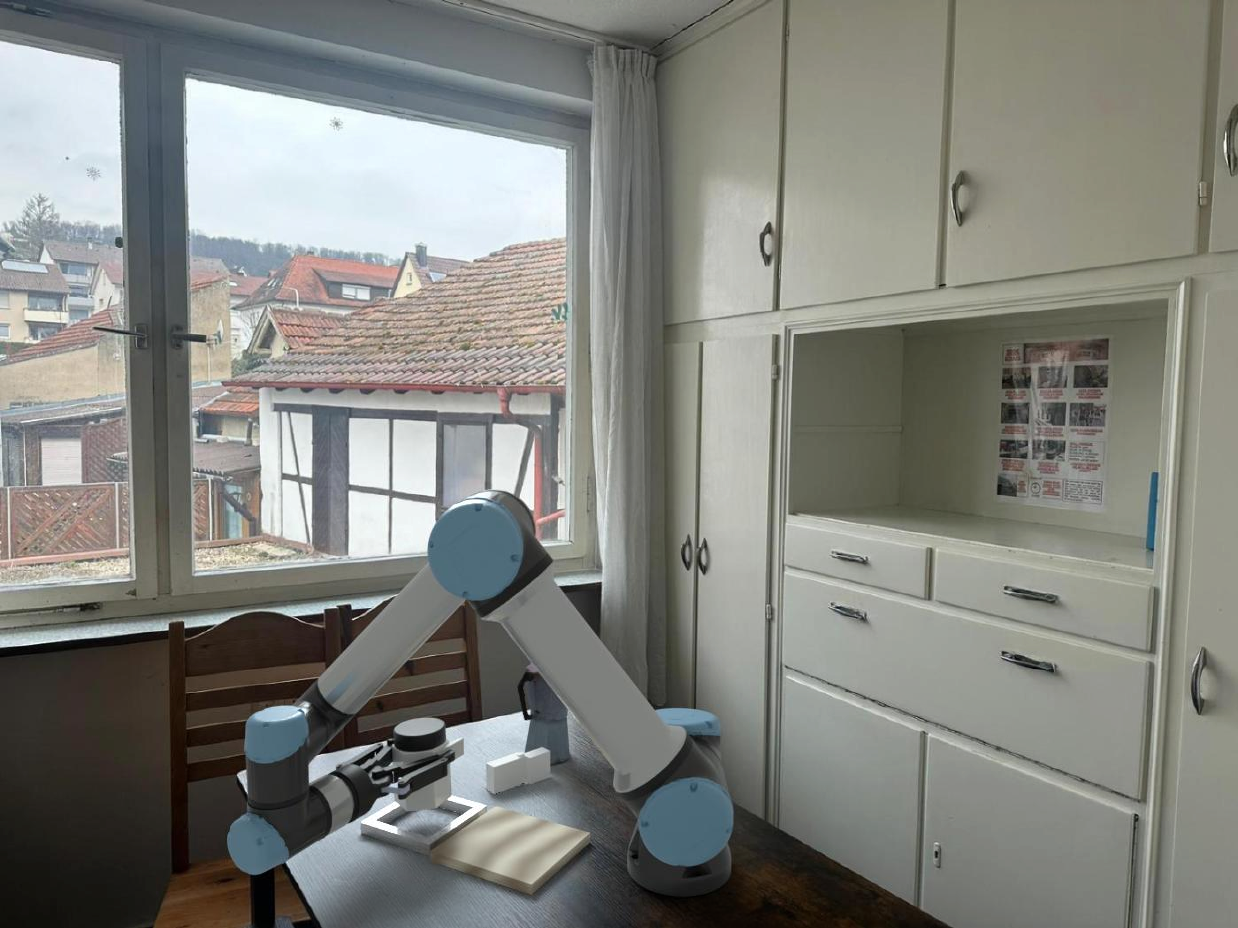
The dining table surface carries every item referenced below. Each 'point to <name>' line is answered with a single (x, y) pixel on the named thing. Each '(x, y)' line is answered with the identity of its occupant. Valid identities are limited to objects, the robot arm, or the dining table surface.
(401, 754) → the jar
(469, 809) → the white square frame
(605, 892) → the dining table surface
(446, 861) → the board
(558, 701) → the moka pot
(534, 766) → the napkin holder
